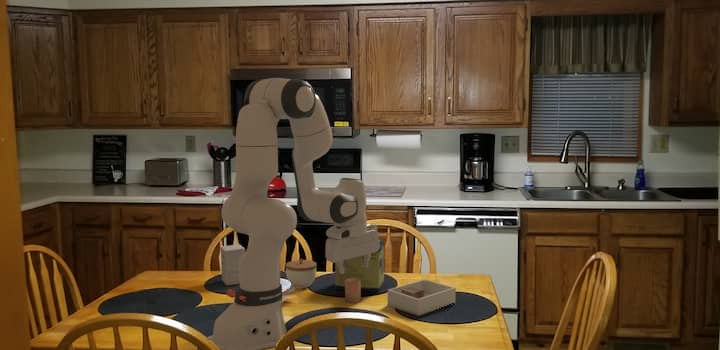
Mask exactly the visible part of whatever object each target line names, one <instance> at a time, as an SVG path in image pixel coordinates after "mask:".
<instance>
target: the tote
mask: <svg viewBox="0 0 720 350" xmlns="http://www.w3.org/2000/svg"><path fill="white" fill-rule="evenodd" d="M412 286H413V287H417V288H420V289H423V290H424V297H422V298H419V299H417V298H414V297H411V296H408V295H405V294H402V289H405V288H408V287H412ZM456 290H457V289H456V287H454V286H452V285H451V286H450V285H447V284H443V283H440V282H436V281H433V280H429V279H427V278H426V279H425V278H424V279H421V280H417V281H414V282H410V283H406V284H403V285H400V286H396V287H392V288H389V289H387V306H389V307H392V308H394V309H397V310H400V311H403V312H406V313H408V314H412V315H415V316H418V317H419V316H422V315H425V314H428V313H430V312H433V311H436V309H437V310H439V308H440V309H442V308H441V307H443V308H445V307H444V306H446V307H448V306H447V305H449V304H451V305H453V304H452V303H454V304H456V297H457V296H456ZM449 306H450V305H449Z"/></svg>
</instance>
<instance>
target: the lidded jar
mask: <svg viewBox="0 0 720 350" xmlns="http://www.w3.org/2000/svg"><path fill="white" fill-rule="evenodd" d="M285 275H286V278H287V281H288V280H289V281H290V282H291V283H292V284H293V285H292V284H291V283H290V282H289V281H288V282H289V283H290V284H291V285H292V287H293V286H294V287H293V288H295V289H304V288H305V289H306V288H308V287H309V288H310V286H311V285H312V284H313V282H314V281H315V279H316V277H317V276H316V275H317V262H315V261H313V260H308V259H302V258H299V259H296V260H295V259H294V260H291V261H288V262H286V263H285Z"/></svg>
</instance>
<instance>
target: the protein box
mask: <svg viewBox="0 0 720 350" xmlns="http://www.w3.org/2000/svg"><path fill="white" fill-rule="evenodd" d="M379 244H380V248H379V250H378V251H377V252H373V253H371V257H370V260H369V262H368V267H366V268H364V267H362V266H361V265H362V264H361V262H362V261H363V260H364V257H365V256H364V255H362V256H358V257H354V258H351V259H347V260H343V261H344V263H343V264H342V265H343V267H344V268H346V273H344V274H340V273H339V267H338V266H337V264H336V263H334V269H335V271H334V289H337V290H336V291H345V279H348V278H358V279H360V280H361V292H364V291H368V292H367V293H369V292H370V293H380V291H381V290H382V288H383V286H384V284H385V240H379Z"/></svg>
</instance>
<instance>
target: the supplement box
mask: <svg viewBox="0 0 720 350" xmlns="http://www.w3.org/2000/svg"><path fill="white" fill-rule="evenodd" d="M245 252H246V248H245V247H243V246H242V245H241V243H240V244H231V245H223V246H222V245H220V262H221V265H220V266H221V281H222V282H223V283H224V284H225V285H226V286H232V285H240V280H239V259H240V257H241V256H242V255H243V254H244V253H245Z"/></svg>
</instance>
